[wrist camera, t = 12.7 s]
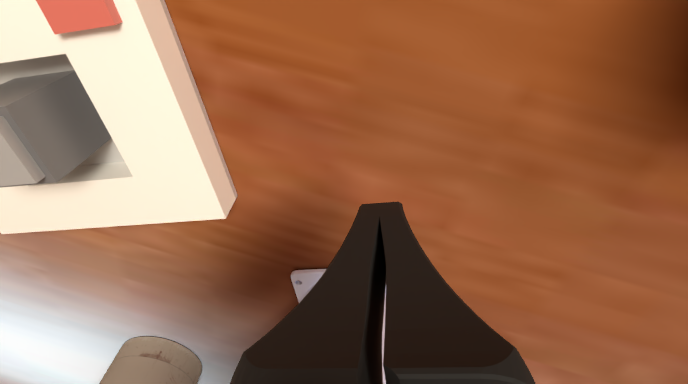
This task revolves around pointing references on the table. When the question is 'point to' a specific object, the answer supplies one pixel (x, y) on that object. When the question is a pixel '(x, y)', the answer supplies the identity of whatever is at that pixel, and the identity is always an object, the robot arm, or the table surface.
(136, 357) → the thermos bottle
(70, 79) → the plug
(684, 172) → the table surface
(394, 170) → the table surface
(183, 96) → the faceplate
